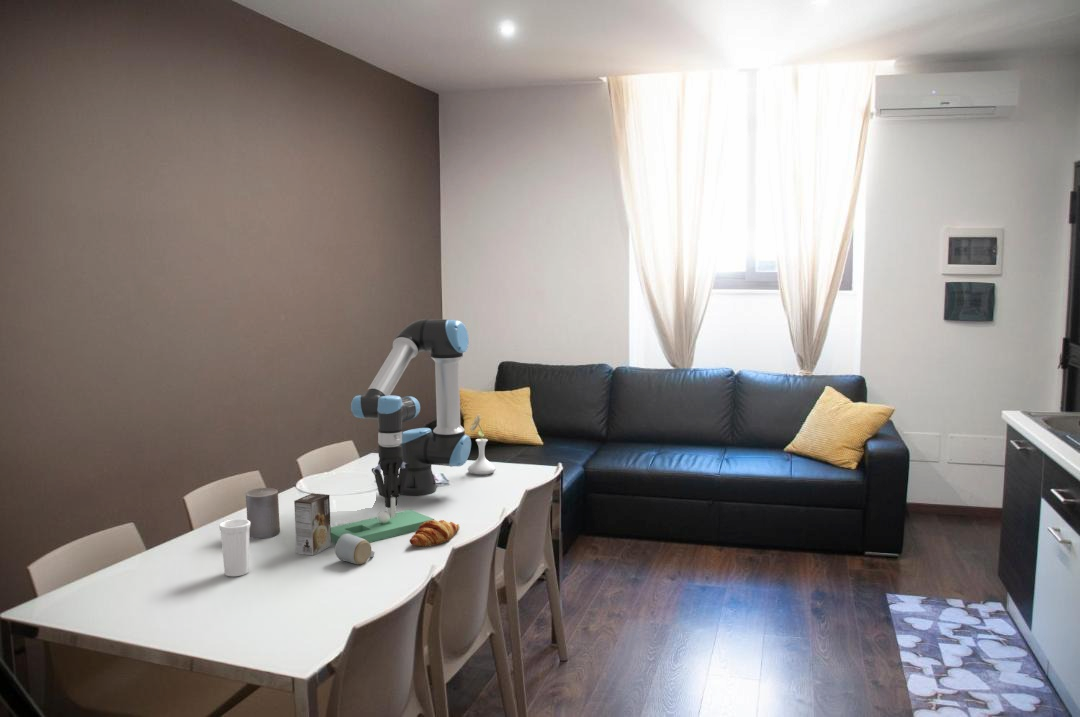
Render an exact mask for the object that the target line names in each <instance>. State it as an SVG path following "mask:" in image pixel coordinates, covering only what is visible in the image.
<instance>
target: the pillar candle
mask: <svg viewBox="0 0 1080 717" xmlns="http://www.w3.org/2000/svg"><path fill="white" fill-rule="evenodd" d="M245 502H246V503H245V504H246V520H249V521H250V522H251V523H250V528H249V539H250V538H251V539H256V540H257V539H270V538H273V537H276V536H278V535H279V534H280V532H281V525H280V507H279V505H280V504H279V491H278V489H276V488H272V487H261V488H260V487H259V488H254V489H251V490H248V491H247V492H246V493H245Z"/></svg>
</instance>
